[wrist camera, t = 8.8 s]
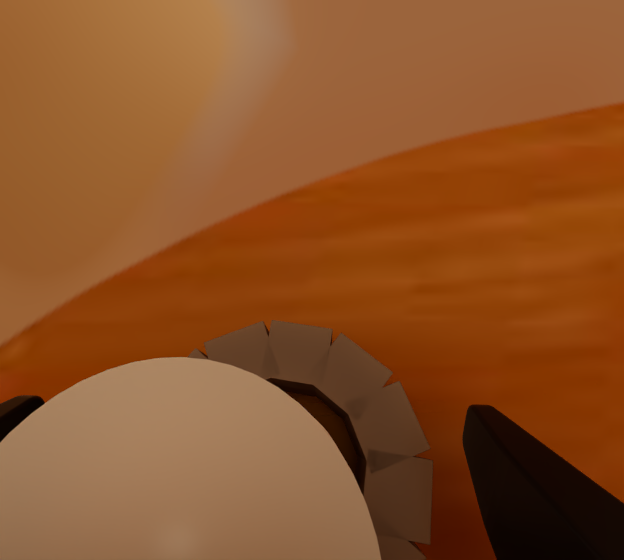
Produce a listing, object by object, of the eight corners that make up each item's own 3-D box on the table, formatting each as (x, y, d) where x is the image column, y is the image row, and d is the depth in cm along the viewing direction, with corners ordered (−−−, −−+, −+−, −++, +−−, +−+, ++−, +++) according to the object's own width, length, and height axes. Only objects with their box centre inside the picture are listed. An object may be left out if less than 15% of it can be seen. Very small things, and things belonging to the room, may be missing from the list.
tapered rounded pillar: (353, 497, 15) (485, 823, 3) (257, 539, 14) (-137, 1164, 2) (317, 398, 16) (290, 301, 4) (229, 433, 16) (-98, 445, 4)
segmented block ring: (449, 545, 14) (493, 585, 10) (204, 658, 13) (154, 748, 9) (350, 318, 17) (356, 286, 14) (152, 393, 16) (101, 380, 13)
